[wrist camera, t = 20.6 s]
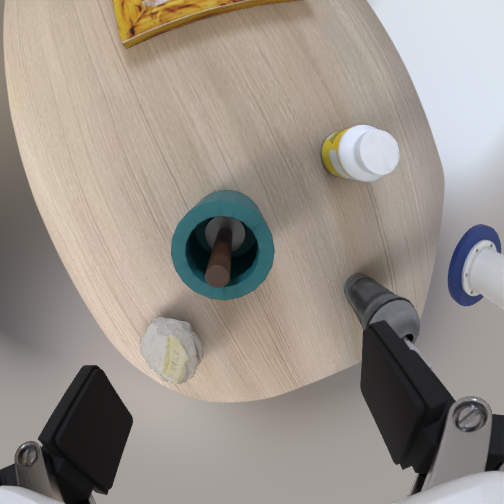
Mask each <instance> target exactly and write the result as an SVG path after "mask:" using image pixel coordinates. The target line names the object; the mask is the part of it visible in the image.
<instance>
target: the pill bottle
mask: <svg viewBox="0 0 504 504" xmlns="http://www.w3.org/2000/svg"><path fill="white" fill-rule="evenodd" d="M320 156H321V161H322V163H323V165H324V167H325V168H326V170H327V171H328V172H329V173H331V174H332V175H334V176H336V177H339V178H345V179H352V180H357V181H364V182H370V181H375V180H377V179H379V178H381V177H382V176H383V175H387V174H389V173H391V172H392V171H393V170H394V169H395V168H396V166H397V164H398V161H399V148H398V145H397V143H396V141H395V139H394V138H393V137H392V136H391V135H390V134H389V133H387V132H385V131H383V130H378V129H376V128H374V127H372V126H368V125H357V126H354V127H351V128H348V129H344V130H341V131H338V132H335V133H332V134H330V135H329V136H328V137H327V138H326V139H325V140H324V142H323V143H322V146H321V150H320Z"/></svg>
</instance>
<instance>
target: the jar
mask: <svg viewBox="0 0 504 504" xmlns="http://www.w3.org/2000/svg"><path fill="white" fill-rule="evenodd" d="M217 216H226V217H233V218H235V219H237V220H239V221H242V222H243V223H244V225H245V233H246V236H245V241H244V243H243V245H242V246H241V247H240V248H239V249H238V250H237V251H235V252H233V253H231V267H230V279H229V282H228V283H227V285H225V286H224V287H221V288H215V287H212V286H210V285H209V284H208V283H207V281H206V278H205V274H206V270H207V267H208V263H209V260H210V257H211V253H212V249H211V248H210V247H209V246H208V244H207V242H206V240H205V229H206V226H207V224H208V222H209V220H210V218H212V217H217ZM274 252H275V251H274V244H273V238H272V234H271V232H270V230H269V228H268V226H267V224H266V222H265V220H264V218H263V216H262V214H261V212H260V211H259V209H258V207H257V205H256V204H255V203H254V202H253V201H252V200H251V199H250V198H249V197H247V196H246V195H244V194H242V193H239V192H236V191H230V190H223V191H218V192H215V193H212V194H210V195H208V196H207V197H205V198H203V199H202V200H201V201H200V202H199V203H198V204H197V205H196V206H195V207H193V208H192V209H191V210H190V211H189V212H188V213H187V214H186V215H185V217H184V218H183V219H182V220H181V221H180V222H179V224H178V225H177V228H176V230H175V233H174V235H173V238H172V246H171V256H172V260H173V263H174V267H175V269H176V272H177V273H178V275H179V276H180V278H181V279H182V281H183V282H184V283H185V284H186V285H187V286H188V287H190V288H191V289H192V290H193V291H195V292H196V293H199V294H201V295H203V296H206V297H208V298H212V299H221V300H228V299H234V298H239V297H242V296H244V295H246V294H248V293H250V292H251V291H253V290H255V289H256V288H257V287H258V286H259V285H260V284H261V283H262V282H263V281H264V280H265V279H266V277H267V275H268V273H269V271H270V269H271V267H272V264H273V258H274Z"/></svg>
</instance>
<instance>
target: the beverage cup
mask: <svg viewBox="0 0 504 504" xmlns="http://www.w3.org/2000/svg"><path fill="white" fill-rule="evenodd" d="M344 292H345V295H346V296H347V299H348V301H349V303H350V305H351V307H352V308H353V310H354V312H355V314H356V316H357V317H358V319H359V321H360V323H361V325H362V327H363V330H366V329H367V327H368V325H369V324H371V323H375V322H378V321H381V320H385V321H386V322H387V323H388V324H389V325H390V326H391V327H392V329H393V330H394V331H395V332H396V333H397V335H398V336H399V337H400V338H401V340H402V341H403V342H404V343H405V344H406V346H407V347H408V348H410V349H412V350H415V351H416V352H417V353H418V354H419V355H420V357H421V358H422V359H423V360H424V361H425V363H426V364H427V365H428V366H429V368H430V369H432V365H431V364H430V363H429V362H428V361H427V360H426V358H425V357H424V356H423V355H422V354H421V353H420V352H419V351H418V349H417V348H416V347H415V346H414V345H413V344H414V343H415V341H416V339H417V337H418V335H419V330H420V320H419V316H418V313H417V311H416V310H415V308H414V306H413V305H412V303H411V302H410V301H409V300H407V299H405V298H402V297H400V296H398V295H395V294H394V293H392V292H391V291H389V290H388V289H386V288H385V287H383V286H382V285H380V284H379V283H378V282H376V281H375V280H373V279H372V278H370V277H368V276H366V275H364V274H355V275H353V276H351V277H350V278H349V279H348V280H347V282H346V284H345V287H344Z"/></svg>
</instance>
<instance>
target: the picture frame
mask: <svg viewBox="0 0 504 504" xmlns="http://www.w3.org/2000/svg"><path fill="white" fill-rule="evenodd" d="M285 1H294V0H113V5H114V10H115V15H116V19H117V24H118V28H119V33H120V37H121V41H122V44H123V45H124V46H125V47H126V48H129V47H132V46H134V45H136V44H138V43H140V42H142V41H145V40H147V39H149V38H151V37H154V36H156V35H159V34H161V33H164V32H166V31H169V30H172V29H174V28H177V27H180V26H183V25H185V24H188V23H191V22H195V21H198V20H201V19H204V18H208V17H211V16H215V15H218V14H222V13H226V12H230V11H234V10H239V9H243V8H248V7H253V6H259V5H265V4H271V3H278V2H285Z"/></svg>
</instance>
